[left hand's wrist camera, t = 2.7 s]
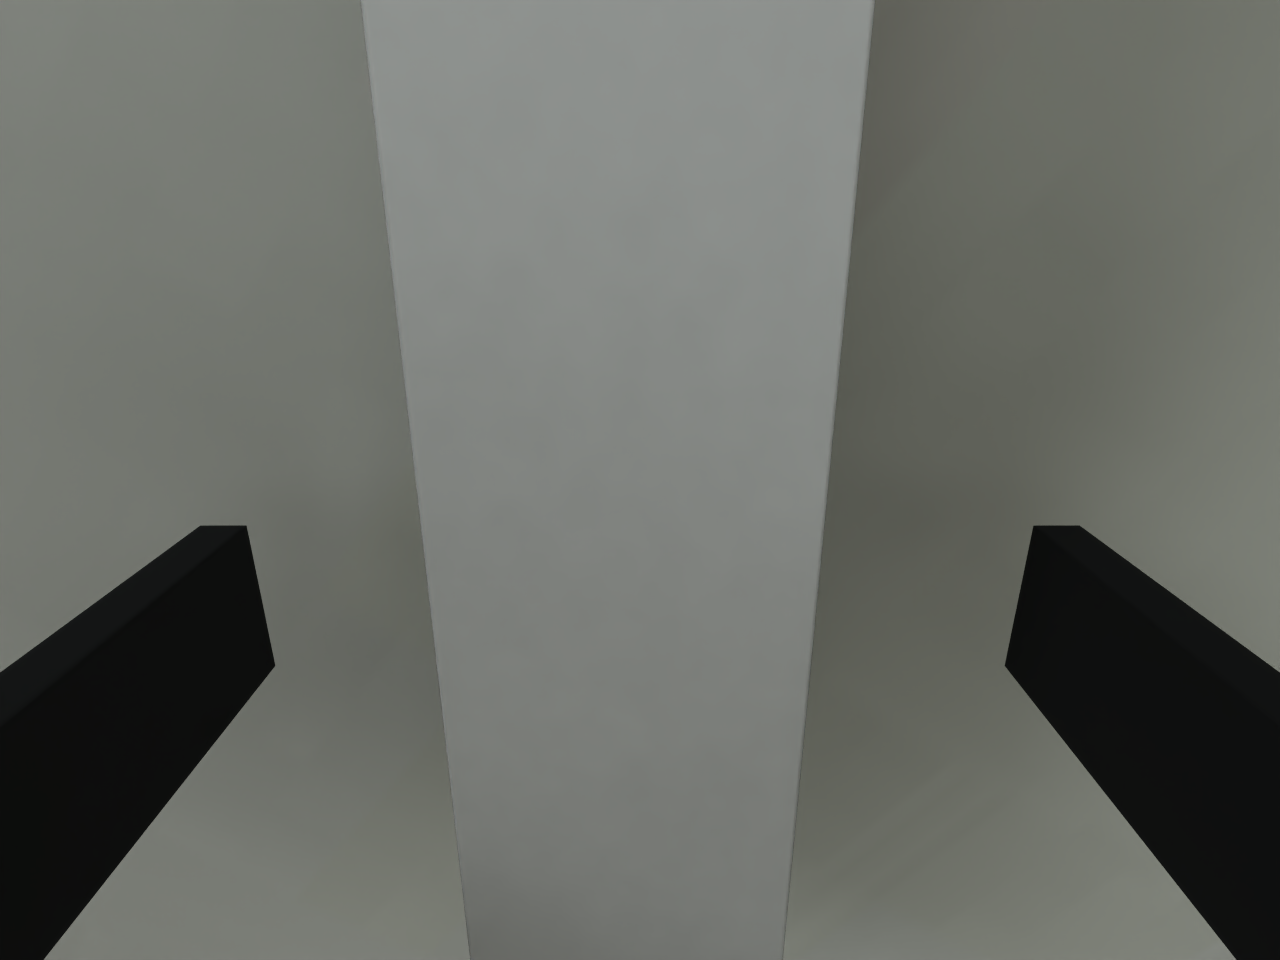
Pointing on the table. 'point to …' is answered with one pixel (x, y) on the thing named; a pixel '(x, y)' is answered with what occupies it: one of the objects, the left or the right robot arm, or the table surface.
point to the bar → (621, 440)
